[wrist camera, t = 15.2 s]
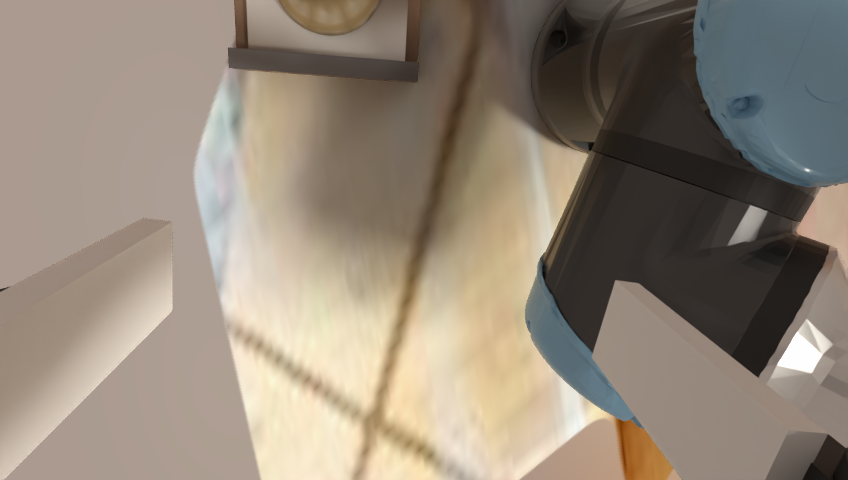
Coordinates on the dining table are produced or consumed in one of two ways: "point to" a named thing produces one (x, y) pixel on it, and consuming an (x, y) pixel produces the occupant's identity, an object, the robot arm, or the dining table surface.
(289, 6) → the hand bell
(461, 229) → the dining table surface
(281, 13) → the brown wooden display stand
